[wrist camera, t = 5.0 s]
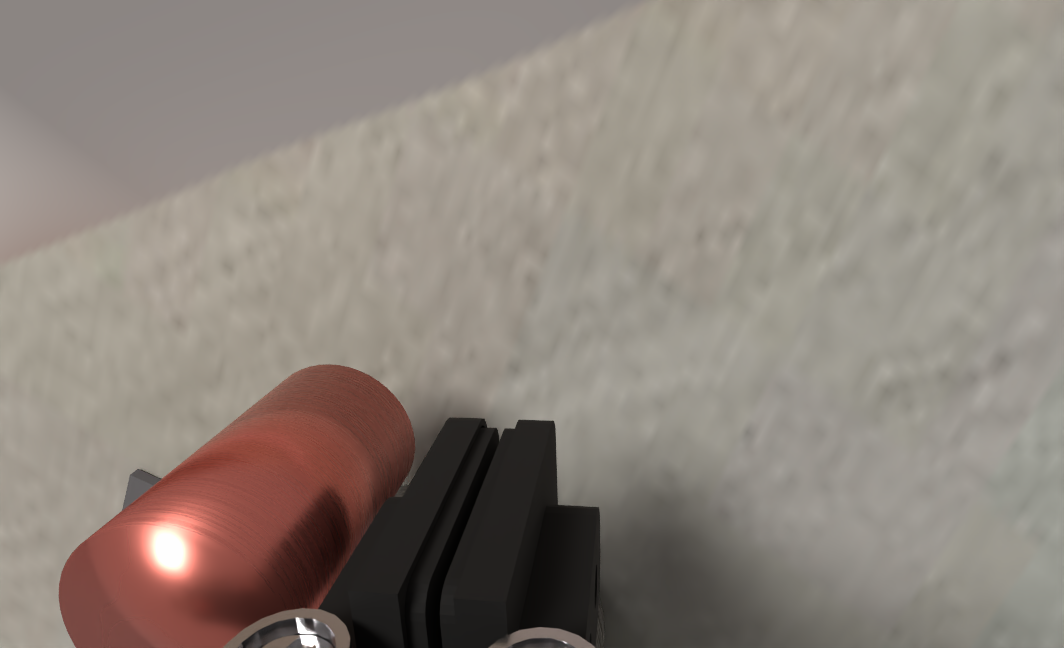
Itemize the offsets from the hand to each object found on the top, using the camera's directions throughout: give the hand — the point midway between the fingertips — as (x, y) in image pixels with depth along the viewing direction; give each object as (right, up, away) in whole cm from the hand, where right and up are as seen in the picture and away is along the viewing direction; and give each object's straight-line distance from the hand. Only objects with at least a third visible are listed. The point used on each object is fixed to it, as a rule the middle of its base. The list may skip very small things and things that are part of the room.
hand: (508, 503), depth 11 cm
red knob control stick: (-2, -3, +6) cm, 7 cm away
